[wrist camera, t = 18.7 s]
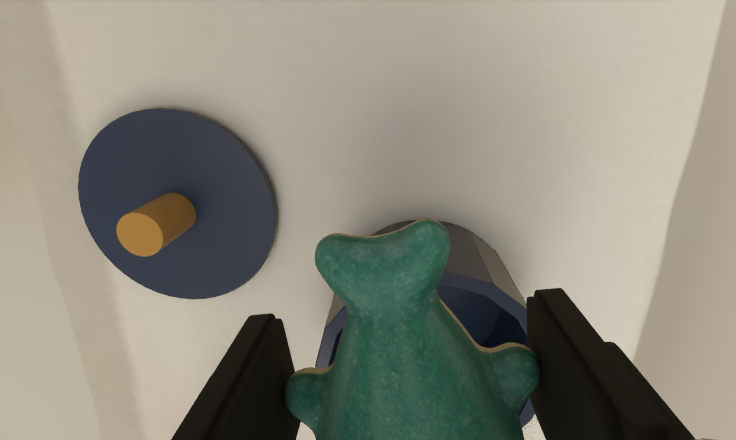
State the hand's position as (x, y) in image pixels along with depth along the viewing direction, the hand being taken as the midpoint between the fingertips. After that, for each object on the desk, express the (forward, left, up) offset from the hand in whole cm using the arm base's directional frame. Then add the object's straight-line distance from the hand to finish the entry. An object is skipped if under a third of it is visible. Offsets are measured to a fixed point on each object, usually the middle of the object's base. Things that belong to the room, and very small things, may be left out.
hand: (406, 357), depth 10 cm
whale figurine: (0, 0, -1) cm, 1 cm away
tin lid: (+1, -16, -19) cm, 25 cm away
